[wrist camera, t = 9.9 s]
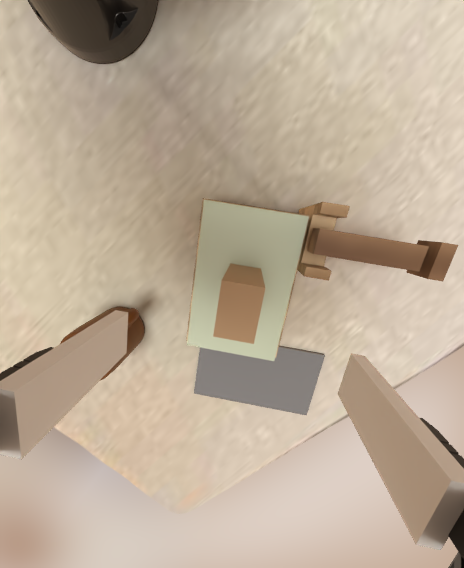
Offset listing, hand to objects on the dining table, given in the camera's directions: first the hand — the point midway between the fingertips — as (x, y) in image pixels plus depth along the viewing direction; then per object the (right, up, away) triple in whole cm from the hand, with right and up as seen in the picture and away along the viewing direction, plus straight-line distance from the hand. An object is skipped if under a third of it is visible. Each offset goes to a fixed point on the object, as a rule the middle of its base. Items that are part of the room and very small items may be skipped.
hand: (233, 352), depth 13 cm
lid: (+1, +4, +14) cm, 15 cm away
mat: (+4, -11, +25) cm, 28 cm away
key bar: (+14, +8, +11) cm, 19 cm away
